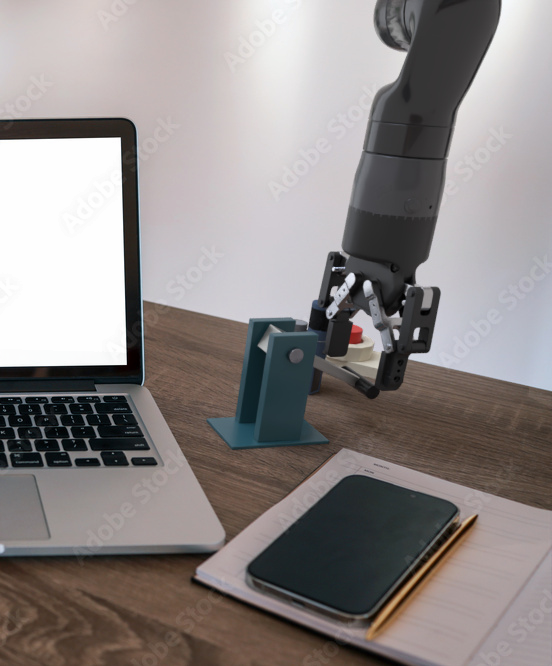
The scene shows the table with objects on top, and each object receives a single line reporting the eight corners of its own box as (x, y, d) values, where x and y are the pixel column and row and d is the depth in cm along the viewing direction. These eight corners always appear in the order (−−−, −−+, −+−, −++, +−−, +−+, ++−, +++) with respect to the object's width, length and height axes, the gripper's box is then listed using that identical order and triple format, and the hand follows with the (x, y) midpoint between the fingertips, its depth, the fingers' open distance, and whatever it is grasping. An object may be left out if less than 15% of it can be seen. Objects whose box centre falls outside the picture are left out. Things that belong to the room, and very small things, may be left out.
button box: (387, 370, 95) (393, 340, 94) (377, 387, 90) (383, 355, 88) (305, 351, 100) (310, 322, 98) (291, 366, 95) (296, 335, 93)
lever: (342, 384, 78) (355, 364, 78) (371, 405, 74) (385, 384, 73) (249, 340, 74) (262, 319, 74) (275, 360, 70) (289, 337, 69)
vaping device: (310, 404, 84) (329, 299, 80) (269, 388, 88) (286, 286, 84) (323, 399, 86) (342, 295, 82) (283, 383, 89) (299, 283, 85)
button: (363, 340, 94) (366, 326, 93) (356, 348, 91) (359, 334, 91) (333, 333, 96) (335, 320, 95) (325, 341, 93) (328, 327, 92)
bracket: (295, 423, 79) (314, 314, 75) (327, 451, 74) (349, 335, 70) (204, 429, 77) (219, 317, 73) (230, 458, 72) (248, 339, 68)
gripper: (486, 222, 64) (442, 401, 69) (381, 192, 77) (351, 344, 82) (408, 221, 62) (368, 404, 68) (314, 190, 75) (287, 346, 81)
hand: (359, 371), depth 75 cm, fingers open, 8 cm apart
